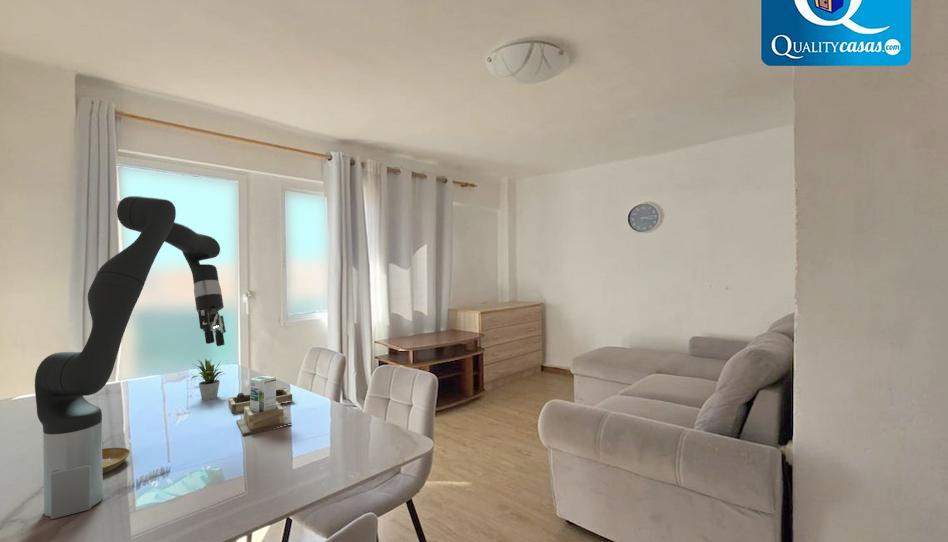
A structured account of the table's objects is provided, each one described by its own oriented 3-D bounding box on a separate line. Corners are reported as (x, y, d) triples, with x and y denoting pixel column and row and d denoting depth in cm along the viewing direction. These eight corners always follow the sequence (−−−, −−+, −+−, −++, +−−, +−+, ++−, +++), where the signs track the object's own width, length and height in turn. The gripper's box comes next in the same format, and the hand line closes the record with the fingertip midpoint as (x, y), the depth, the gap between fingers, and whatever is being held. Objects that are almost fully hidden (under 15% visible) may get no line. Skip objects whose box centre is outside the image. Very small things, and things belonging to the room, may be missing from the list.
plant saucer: (133, 469, 107) (133, 459, 107) (51, 491, 97) (51, 480, 97) (127, 451, 118) (127, 442, 117) (53, 469, 107) (53, 459, 107)
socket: (291, 425, 136) (291, 409, 136) (242, 436, 127) (242, 418, 127) (281, 413, 147) (281, 398, 147) (236, 422, 139) (236, 406, 139)
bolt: (280, 383, 163) (237, 390, 153) (284, 392, 160) (240, 400, 150) (278, 394, 166) (236, 402, 156) (282, 403, 162) (238, 412, 152)
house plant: (175, 401, 161) (174, 359, 161) (207, 391, 174) (207, 352, 174) (203, 405, 157) (203, 361, 157) (234, 394, 170) (234, 354, 170)
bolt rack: (292, 402, 159) (292, 394, 159) (232, 413, 147) (232, 405, 147) (285, 395, 168) (285, 388, 168) (228, 405, 156) (228, 397, 156)
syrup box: (249, 423, 136) (248, 378, 136) (265, 417, 141) (265, 374, 141) (261, 426, 133) (260, 380, 133) (277, 419, 139) (276, 376, 138)
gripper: (212, 289, 131) (220, 339, 128) (228, 297, 144) (236, 343, 141) (185, 294, 129) (193, 345, 126) (204, 302, 142) (211, 349, 139)
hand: (215, 344), depth 133 cm, fingers open, 8 cm apart
